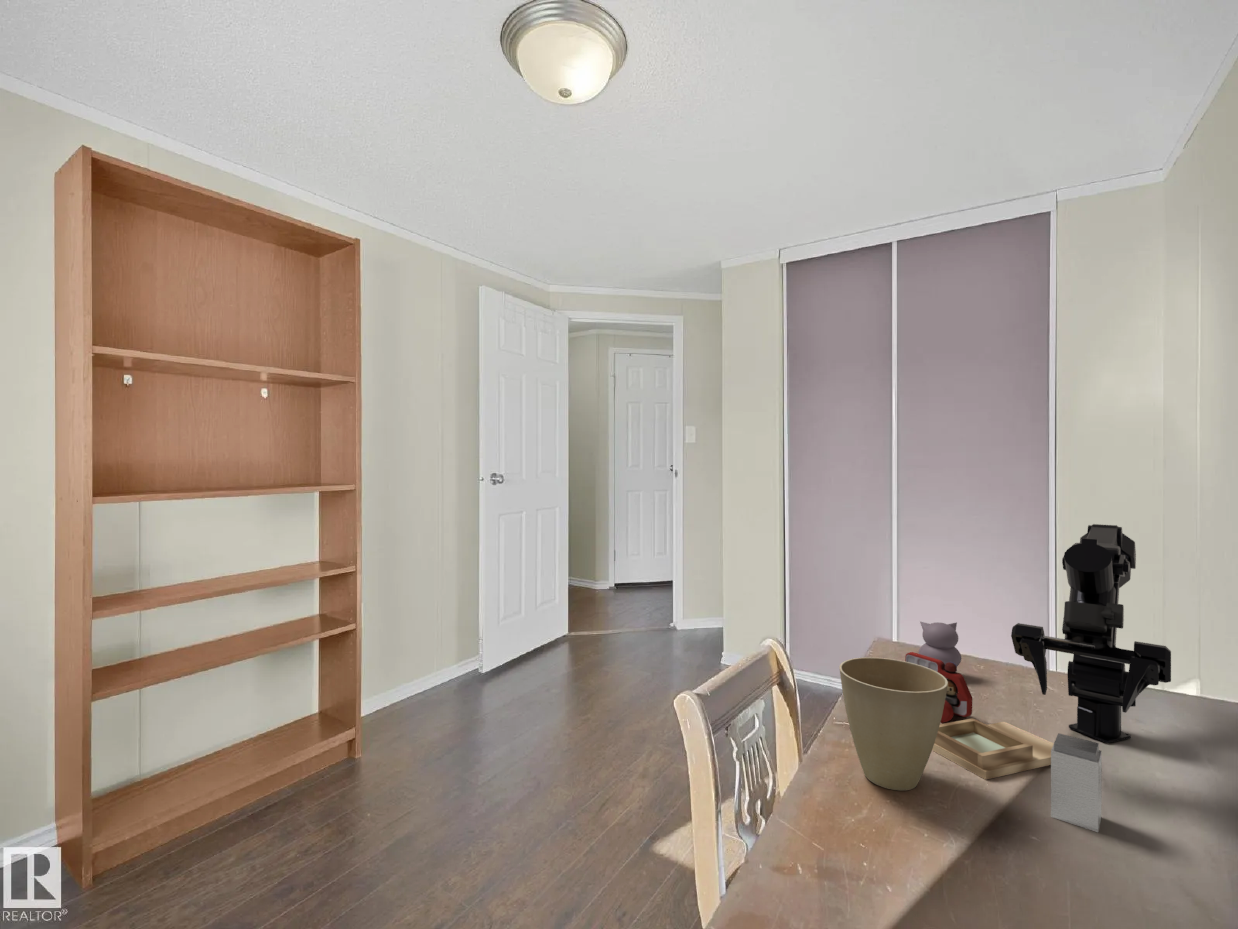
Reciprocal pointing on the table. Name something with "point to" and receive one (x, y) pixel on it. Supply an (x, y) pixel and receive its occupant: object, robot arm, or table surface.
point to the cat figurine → (940, 642)
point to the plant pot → (892, 717)
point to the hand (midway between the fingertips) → (1082, 701)
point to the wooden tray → (991, 748)
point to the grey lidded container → (1076, 781)
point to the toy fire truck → (957, 688)
